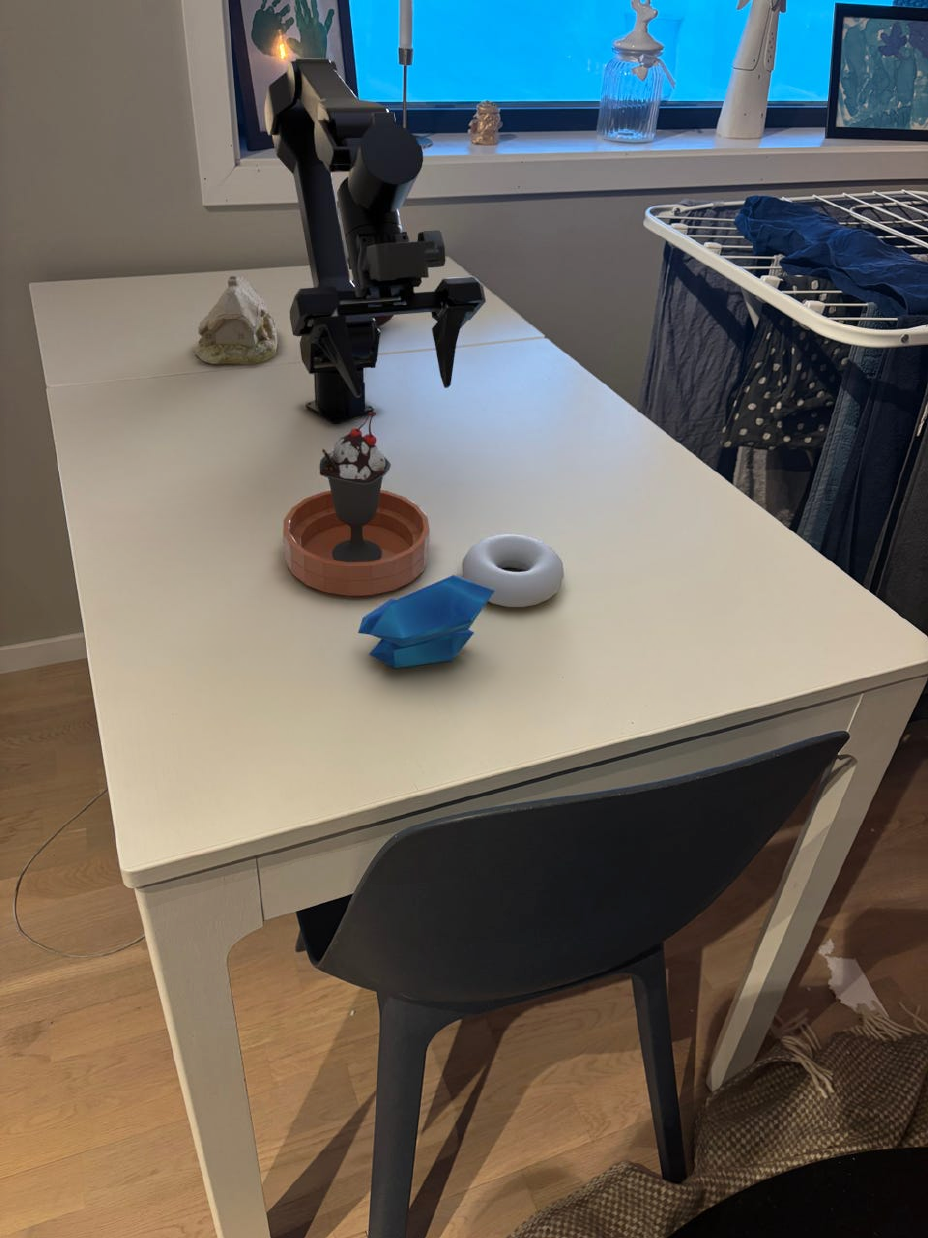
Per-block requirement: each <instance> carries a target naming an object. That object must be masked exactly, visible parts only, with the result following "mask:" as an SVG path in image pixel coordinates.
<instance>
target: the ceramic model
mask: <svg viewBox="0 0 928 1238" xmlns="http://www.w3.org/2000/svg"><path fill="white" fill-rule="evenodd" d="M227 285H228V287H227V288H226V289H225V290H224V291H223V293H222V294H221V295H220V297H219V298H218V300H217V302H216V303H215V304H214V306H213V307H212V308H211V309H210V311H209V312H208V314H207V315H206V316H205V317H204V318H203V320H201V322H200V323H199V324H198V327H197V329H198V330H197V331H198V334H199V336H200V339H199V340H198V344H197V345H196V348H195V349H194V353H195V355H196V356H198V358H200V359H201V360H202V361H204V362H205V363H207V364H208V363H209V364H212V365H225V364H242V365H255V364H260V363H263V362H266V361H268V360H271V359H272V358H274V357H275V356H276V354H277V348H278V334H277V329H276V322H275V319H274V317H273V316H272V314H271V313H269V312H268V311H267V304H266V302H265V301H264V299H263V297H262V296H261V295H260V294H259V292H258V291H257V290H256V288H255V287H254V286H253V285H252V284H251V283H249V282H248V281H247V280H245V279H244V278H243V276H234V275H230V277H229V278H228V280H227Z"/></svg>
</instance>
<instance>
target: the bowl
mask: <svg viewBox="0 0 928 1238" xmlns="http://www.w3.org/2000/svg"><path fill="white" fill-rule="evenodd" d="M422 509H423V508H421V507H420V505H418V504H417V503H415V502H414V501H412V500H410V499H409V498H407V497H406V496H403V495H400V494H397V493H394V492H391V491H388V490H384V489H381V490H380V497H379V504H378V508H377V512H376V516H375V517H374V518H373V519H372V520H371V521H370V522H369V523H368V524H366V525H364V526H363V539H364V540H367V541H371V542H373V543H375V544H377V545H378V546H379V547H380V549H381V551H382V555H381V557H380V559H379V560H376V561H371V562H343V561H337V560H335V559H334V558H333V556H332V552H333V549H334V548H335V547H336V546H337V545H338V544H339V543H341V542H343V541H346V540H350V538H351V527H350V526H349V525H347V524H345V523H343V522H342V521H341V520H340V519H339V518H338V517H337V515H336V512H335V508H334V505H333V500H332V494H331V489H330V490H326V491H325V490H324V491H321V492H319V493H316V494H314V495H311V496H307V497H306V498H304V499H302V500H301V501H299V502H298V503H297V504H295V505H294V506H292V507H291V508H290V510H289V511H288V512H287V514H286V516H285V517H284V519H283V527H282V529H283V530H282V535H283V549H284V559H285V560H284V562H285V563H286V565H287V567H288V569H289V570H290V573H291V574H292V575H293V576H294V577H296V579H298V580H299V581H300V582H302V583H303V584H304V585H306V586H308V587H311V588H313V589H316V590H318V591H320V592H323V593H328V594H334V595H341V596H348V597H353V596H354V597H357V596H374V595H378V594H382V593H387V592H392V591H395V590H397V589H399V588H402V587H404V586H405V585H408V584H409V583H412V582H413V581H414V580H415V579H416V578H417V577H418V576H419V575H421V574H422V573H423V571H425V568H426V566H427V563H428V561H429V558H430V557H429V556H430V531H431V529H430V523H429V522H430V521H429V518H428V516H427V515H426V513H425V512H424V511H423V510H422Z"/></svg>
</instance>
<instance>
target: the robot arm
mask: <svg viewBox="0 0 928 1238" xmlns="http://www.w3.org/2000/svg"><path fill="white" fill-rule="evenodd" d="M264 122H265V128H266V132H267V135H268V136H271V137H272V142H273V146H274V150H275V151H274V152H275V154H276V157H277V159H279V160H280V162H281V163H282V164H283V165H284V166H285V167H286V168H287V170H288V171H289V172H290V173H291V174H292V176H293V180H294V186H295V190H296V192H295V193H296V196H297V203H298V208H299V213H300V219H301V225H302V229H303V236H304V241H305V246H306V247H305V248H306V252H307V259H308V263H309V270H310V274H311V275H310V276H311V279H312V286H313V287H304V288H299V289H298V290H297V292H296V293H295V295H294V296H293V300H292V303H291V305H290V309H289V322H290V327H291V332H292V336H295V337H300V340H299V349H300V350H299V351H300V358H301V362H302V363H303V365H304V367H305V368H306V370H307V372H308V374H309V375H313V381H314V400H311V401H307V402H306V403H305V408H306V409H307V410H309V411H311V412H313V413H314V414H316V415H317V416H319V417H321V418H323V419H324V420H326V421H328V422H329V423H331V424H333V425H338V424H341V423H345V422H348V421H350V420H353V419H356V418H359V417H362V416H365V415H369V412H375V411H374V410H375V407H374V406H372V405H371V404H368V403H367V402H366V383H365V373H364V372H365V369H368V368H369V369H375V368H376V366H377V362H378V354H379V347H380V339H381V336H382V332H381V330H380V329H379V328H378V327H377V324H376V321H375V319H372V317H375V316H388V315H394V316H397V315H398V316H399V315H411V314H422V313H431V317H432V319H433V320H434V321H436V322H435V323H434V325H433V326H432V328H431V331H432V332H431V333H432V337H433V342H434V347H435V353H436V359H437V366H438V371H439V376H440V380H441V382H442V385H443V387H444V389H448V388H449V387H451V384H452V379H453V373H454V372H453V370H454V364H455V357H456V349H457V344H458V338H459V336H460V335H459V334H460V332H461V329H462V328H463V327H464V325H465V324H466V323H467V322H468V321H471V320H472V318H473V317H474V316H475V315H476V314H477V313H478V312H479V310H480V309H481V308H482V307H483V306H484V305H485V304H486V302H487V299H486V294H485V289H484V285H483V284H482V283H481V281H479V279H478V278H477V277H476V276H474V275H473V276H463V277H462V276H460V277H446V278H442V279H441V280H440V282H439V284H438V285H437V287H435V289H434V290H433V291H420V292H415V288H420V286H421V284H422V283H423V280H422V279H427V278H429V277H430V275H429V268H440V267H444V266H445V265H446V259H447V257H446V247H445V242H444V239H443V234H442V230H423V231H422V232H418V233H417V241H410V237H409V236H408V233H407V231H404V230H403V224H402V220H401V219H402V218H401V214H400V210H399V209H400V208H401V207H402V206H403V205H404V204H405V202H406V201H407V198H408V197H409V194H410V192H411V190H412V189H413V187H414V184H415V182H416V180H417V178H418V176H419V174H420V172H421V170H422V168H423V164H424V152H423V148H422V146H421V145H420V143H419V141H418V140H417V138H416V137H415V135H414V134H413V133H412V132H411V131H410V130H408V129H407V128H406V127H404V126H402V125H400V124H398V123H397V122H396V117H395V112H394V111H389V110H388V109H387V108H386V106H384V105H382V104H381V103H378V102H375V101H370V100H364V99H360V98H358V97H357V96H356V95H355V94H354V93H353V91H352V89H350V87H349V86H348V84H346V82H345V81H344V80H343V78H342V77H341V76H340V75H339V73H338V68H337V64H336V62H335V61H334V60H330V59H329V58H327V57H326V58H325V57H295V58H294V59H293V60H289V61H288V63H287V68H286V70H285V72H284V73H283V74H282V75H280V76H279V77H278V78H277V79H275V80H274V81H273V82H272V83H270V84H269V85H268V86H267V91H266V97H265V102H264ZM332 173H348V176H347V177H345V178H344V179H343V180H342V182H341V183H340V185H339V187H338V189H337V192H335V188H334V181H333V176H332ZM336 196H337V197H336ZM337 201H338V203H337ZM338 207H339V209H338ZM339 212H340V215H339ZM340 217H341V220H340ZM341 223H342V224H341ZM341 225H342V226H341ZM342 228H343V232H342ZM343 234H344V236H343ZM343 237H344V238H343ZM344 239H345V242H344ZM345 243H346V249H347V254H346V249H345ZM347 255H348V256H347ZM349 270H351V276H352V280H353V281H354V284H353V283H352V280H351V276H350V271H349Z"/></svg>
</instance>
